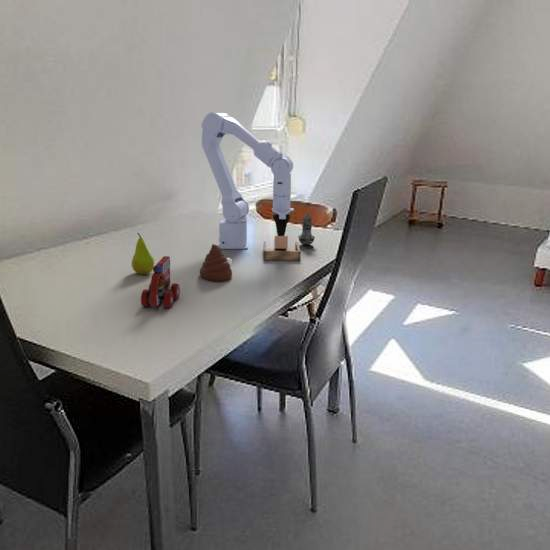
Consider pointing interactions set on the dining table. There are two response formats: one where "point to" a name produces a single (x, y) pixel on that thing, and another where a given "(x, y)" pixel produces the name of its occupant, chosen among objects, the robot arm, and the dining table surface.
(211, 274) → the poop emoji
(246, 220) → the robot arm
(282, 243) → the tall block
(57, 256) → the dining table surface
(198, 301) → the dining table surface
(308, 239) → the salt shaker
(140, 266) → the fruit
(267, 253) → the walnut tray
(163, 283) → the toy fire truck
